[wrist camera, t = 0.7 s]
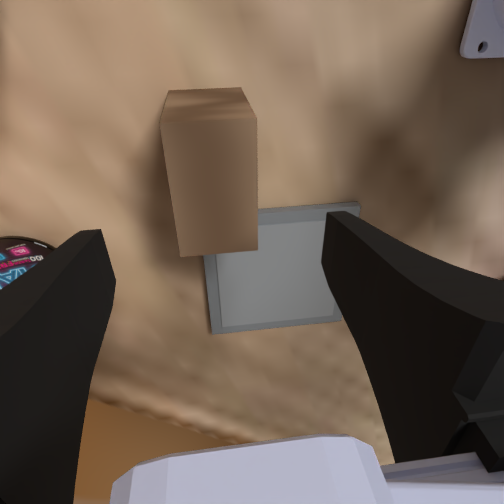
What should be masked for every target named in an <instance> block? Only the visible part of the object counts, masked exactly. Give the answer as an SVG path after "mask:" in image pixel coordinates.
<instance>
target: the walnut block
mask: <svg viewBox="0 0 504 504" xmlns="http://www.w3.org/2000/svg"><path fill="white" fill-rule="evenodd" d="M159 125H160V131H161V137H162V144H163V150H164V156H165V163H166V169H167V175H168V182H169V188H170V195H171V201H172V207H173V213H174V220H175V226H176V232H177V239H178V245H179V251H180V257H188V256H199V255H211V254H222V253H234V252H245V251H257V250H258V175H257V117H256V115H255V113H254V112H253V110H252V108H251V106H250V104H249V102H248V100H247V98H246V96H245V95H244V93H243V91H242V89H241V87H238V88H215V89H192V90H169V92H168V95H167V99H166V102H165V105H164V109H163V112H162V116H161V119H160V123H159Z"/></svg>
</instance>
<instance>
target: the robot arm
mask: <svg viewBox="0 0 504 504" xmlns="http://www.w3.org/2000/svg"><path fill="white" fill-rule="evenodd" d="M481 42H483V47H482V49H481V50H480V51H479V52H478V46H479V44H480V43H481ZM460 54H461V56H462V57H465V58H469V59H473V58H499V57H504V0H473V1H472V5H471V9H470V12H469V16H468V20H467V24H466V27H465V31H464V35H463V38H462V42H461V46H460ZM321 264H322V268H323V271H324V274H325V277H326V280H327V283H328V286H329V289H330V291H331V293H332V295H333V297H334V299H335V301H336V303H337V305H338V307H339V309H340V311H341V313H342V315H343V317H344V319H345V321H346V323H347V325H348V327H349V329H350V331H351V333H352V335H353V337H354V340H355V342H356V344H357V346H358V349H359V351H360V354H361V356H362V359H363V362H364V365H365V368H366V370H367V373H368V376H369V379H370V382H371V385H372V388H373V391H374V394H375V397H376V400H377V403H378V406H379V409H380V412H381V416H382V419H383V422H384V425H385V429H386V432H387V435H388V438H389V442H390V446H391V449H392V453H393V456H394V460H395V464H389V465H382V466H380V465H379V463H378V460H377V458H376V455H375V453H374V450H373V447H372V446H370V445H368V444H366V443H364V442H362V441H360V440H358V439H356V438H354V437H352V436H349V435H347V434H313V435H305V436H298V437H290V438H283V439H276V440H268V441H261V442H253V443H246V444H239V445H232V446H224V447H216V448H210V449H202V450H195V451H187V452H179V453H172V454H167V455H164V456H160V457H157V458H153V459H149V460H146V461H143V462H139V463H138V464H137V465H135V466H134V467H133V468H131V469H130V470H129V471H127V472H126V473H125V474H124V475H122V476H121V477H120V478H118V479H117V480H116V481H115V482H113V486H112V492H111V498H110V504H504V281H501V280H498V279H494V278H490V277H487V276H484V275H481V274H478V273H475V272H472V271H468V270H465V269H462V268H460V267H457V266H454V265H451V264H449V263H446V262H444V261H442V260H439V259H437V258H434V257H432V256H429V255H427V254H425V253H423V252H421V251H418V250H416V249H414V248H412V247H410V246H408V245H406V244H404V243H402V242H401V241H399V240H397V239H395V238H393V237H391V236H389V235H388V234H386V233H384V232H382V231H381V230H379V229H377V228H375V227H374V226H372V225H370V224H369V223H367V222H365V221H363V220H362V219H360V218H358V217H356V216H355V215H353V214H351V213H349V212H347V211H334V212H327V214H326V222H325V231H324V240H323V248H322V257H321ZM115 285H116V279H115V275H114V272H113V269H112V265H111V262H110V258H109V255H108V251H107V248H106V245H105V241H104V238H103V234H102V231H101V229H96V230H83V231H79V232H78V233H76V234H75V235H73V236H72V237H71V238H69V239H68V240H67V241H65V242H64V243H63V244H62V245H60V246H59V247H58V248H56V249H55V250H54V251H53V252H51V253H50V254H49V255H47V256H46V257H45V258H44V259H42V260H41V261H40V262H38V263H37V264H36V265H34V266H33V267H32V268H30V269H29V270H27V271H26V272H25V273H23V274H22V275H20V276H19V277H18V278H16V279H15V280H13V281H12V282H11V283H9V284H8V285H6V286H5V287H3V288H2V289H0V504H73V499H74V489H75V480H76V473H77V465H78V458H79V450H80V443H81V436H82V429H83V423H84V417H85V411H86V405H87V400H88V394H89V389H90V383H91V379H92V375H93V371H94V367H95V364H96V360H97V357H98V354H99V351H100V347H101V344H102V341H103V337H104V334H105V331H106V328H107V324H108V321H109V317H110V314H111V310H112V306H113V300H114V293H115Z"/></svg>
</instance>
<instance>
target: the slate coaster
mask: <svg viewBox="0 0 504 504" xmlns="http://www.w3.org/2000/svg"><path fill="white" fill-rule="evenodd" d="M360 208H361V206H360V204H359V203H358V202H346V203H333V204H319V205H306V206H293V207H280V208H266V209H258V250H257V251H245V252H234V253H222V254H211V255H203V257H204V266H205V275H206V284H207V292H208V301H209V310H210V319H211V328H212V335H214V334H223V333H232V332H242V331H251V330H260V329H270V328H279V327H288V326H297V325H307V324H316V323H325V322H335V321H341V318H342V313H341V311H340V309H339V307H338V305H337V303H336V301H335V299H334V297H333V295H332V293H331V291H330V289H329V286H328V283H327V280H326V277H325V274H324V271H323V268H322V264H321V257H322V248H323V240H324V231H325V222H326V214H327V212H334V211H347V212H349V213H351V214H353V215H355V216H356V217H358V218H359V214H360Z"/></svg>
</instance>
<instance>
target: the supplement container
mask: <svg viewBox="0 0 504 504" xmlns="http://www.w3.org/2000/svg"><path fill="white" fill-rule="evenodd" d="M55 249H56V248H55V247H54V246H52V245H50V244H48V243H45V242H43V241H40V240H37V239H33V238H29V237H22V236H4V237H0V289H2V288H3V287H5V286H6V285H8V284H9V283H11V282H12V281H13V280H15V279H16V278H18V277H19V276H20V275H22V274H23V273H25V272H26V271H27V270H29V269H30V268H32V267H33V266H34V265H36V264H37V263H38V262H40V261H41V260H42V259H44V258H45V257H46V256H47V255H49V254H50V253H51V252H53V251H54V250H55Z"/></svg>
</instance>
